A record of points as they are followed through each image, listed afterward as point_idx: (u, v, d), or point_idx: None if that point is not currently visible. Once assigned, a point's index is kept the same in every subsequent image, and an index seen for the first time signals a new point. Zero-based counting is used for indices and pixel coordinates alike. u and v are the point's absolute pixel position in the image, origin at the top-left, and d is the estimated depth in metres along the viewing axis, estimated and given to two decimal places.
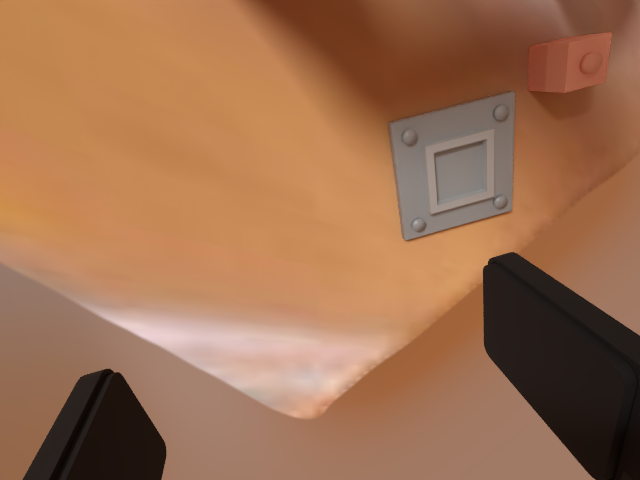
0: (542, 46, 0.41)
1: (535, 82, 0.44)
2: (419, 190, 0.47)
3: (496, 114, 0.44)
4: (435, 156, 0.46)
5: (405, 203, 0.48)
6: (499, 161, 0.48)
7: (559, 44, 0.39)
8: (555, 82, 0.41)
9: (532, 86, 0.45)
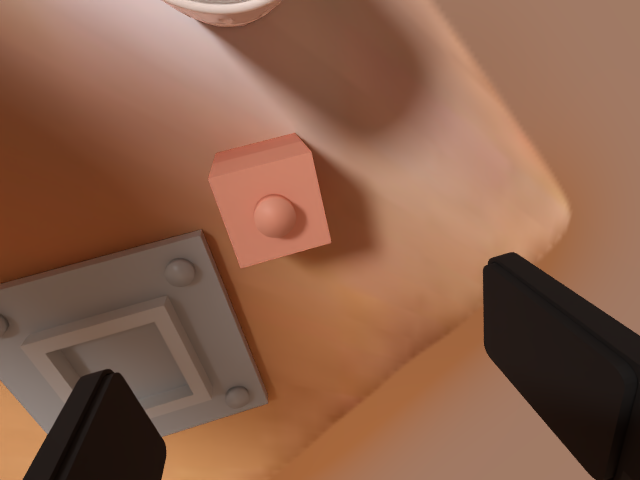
0: None
1: None
2: None
3: (167, 278, 0.23)
4: (72, 347, 0.25)
5: (44, 418, 0.26)
6: (214, 341, 0.27)
7: (211, 172, 0.18)
8: None
9: None
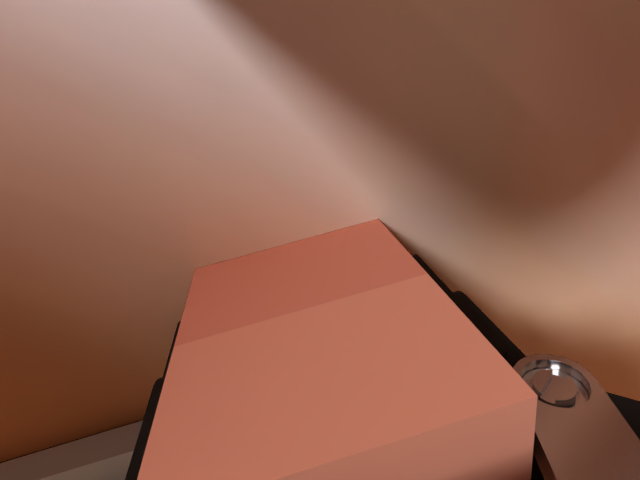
0: None
1: None
2: None
3: None
4: None
5: None
6: None
7: (157, 426, 0.05)
8: None
9: None
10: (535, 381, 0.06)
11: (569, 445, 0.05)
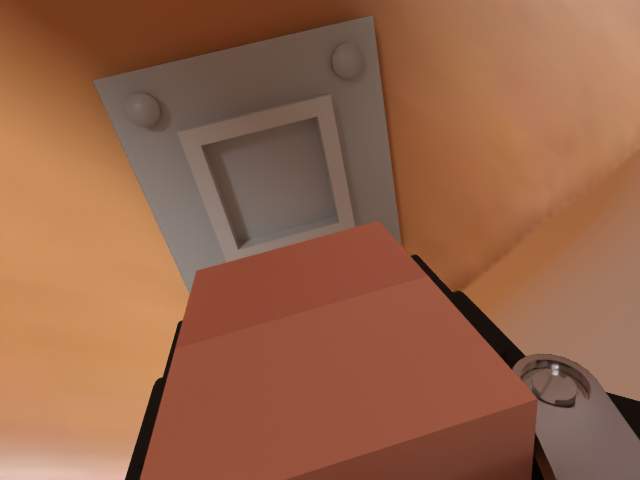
0: None
1: None
2: (202, 220, 0.24)
3: (334, 64, 0.21)
4: (220, 153, 0.22)
5: (178, 245, 0.24)
6: (363, 163, 0.24)
7: (159, 429, 0.05)
8: None
9: None
10: (535, 381, 0.06)
11: (568, 445, 0.05)
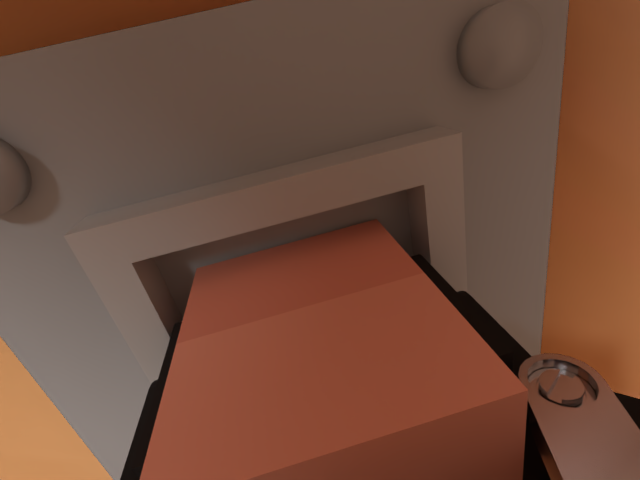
0: None
1: None
2: None
3: (473, 55, 0.08)
4: (187, 262, 0.10)
5: (105, 437, 0.12)
6: (494, 266, 0.12)
7: (161, 420, 0.05)
8: None
9: None
10: (542, 381, 0.06)
11: (577, 445, 0.05)
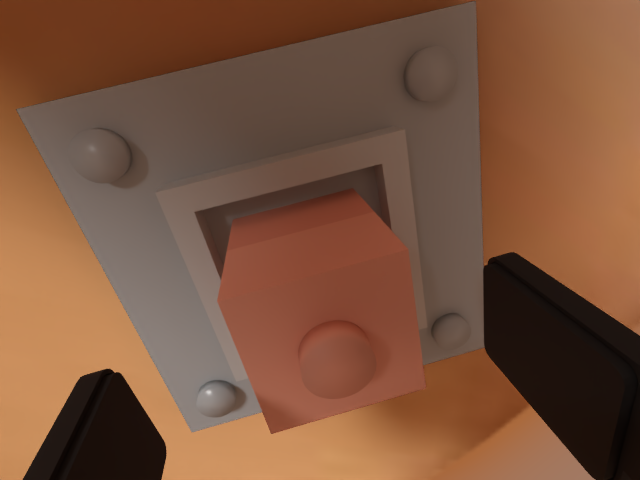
0: None
1: None
2: (197, 313, 0.16)
3: (412, 80, 0.13)
4: (225, 217, 0.14)
5: (162, 348, 0.16)
6: (441, 227, 0.16)
7: (224, 277, 0.10)
8: None
9: None
10: None
11: None
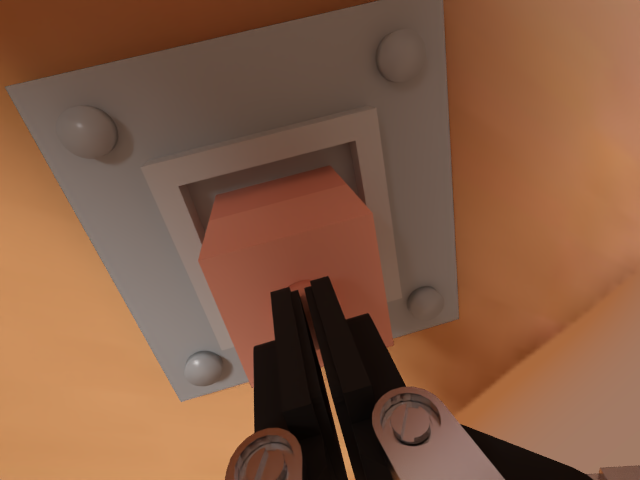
0: None
1: None
2: (184, 286, 0.17)
3: (383, 61, 0.14)
4: (209, 193, 0.15)
5: (151, 320, 0.17)
6: (414, 203, 0.17)
7: None
8: None
9: None
10: (393, 422, 0.06)
11: None
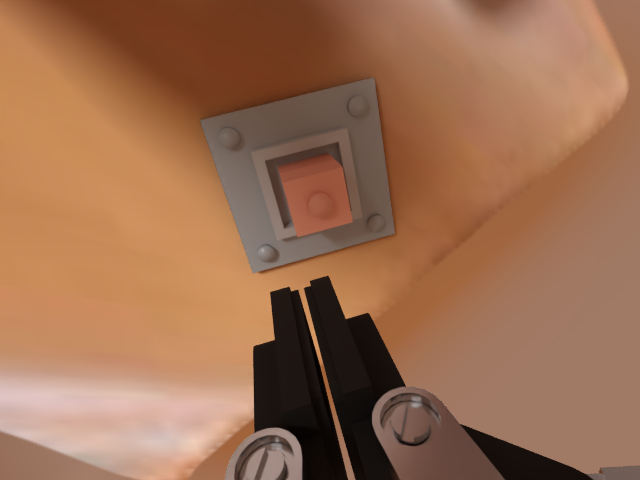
0: (279, 172, 0.32)
1: None
2: (260, 209, 0.36)
3: (350, 108, 0.33)
4: (274, 164, 0.34)
5: (243, 226, 0.36)
6: (368, 171, 0.36)
7: (282, 179, 0.30)
8: (292, 220, 0.32)
9: None
10: (393, 422, 0.06)
11: None
